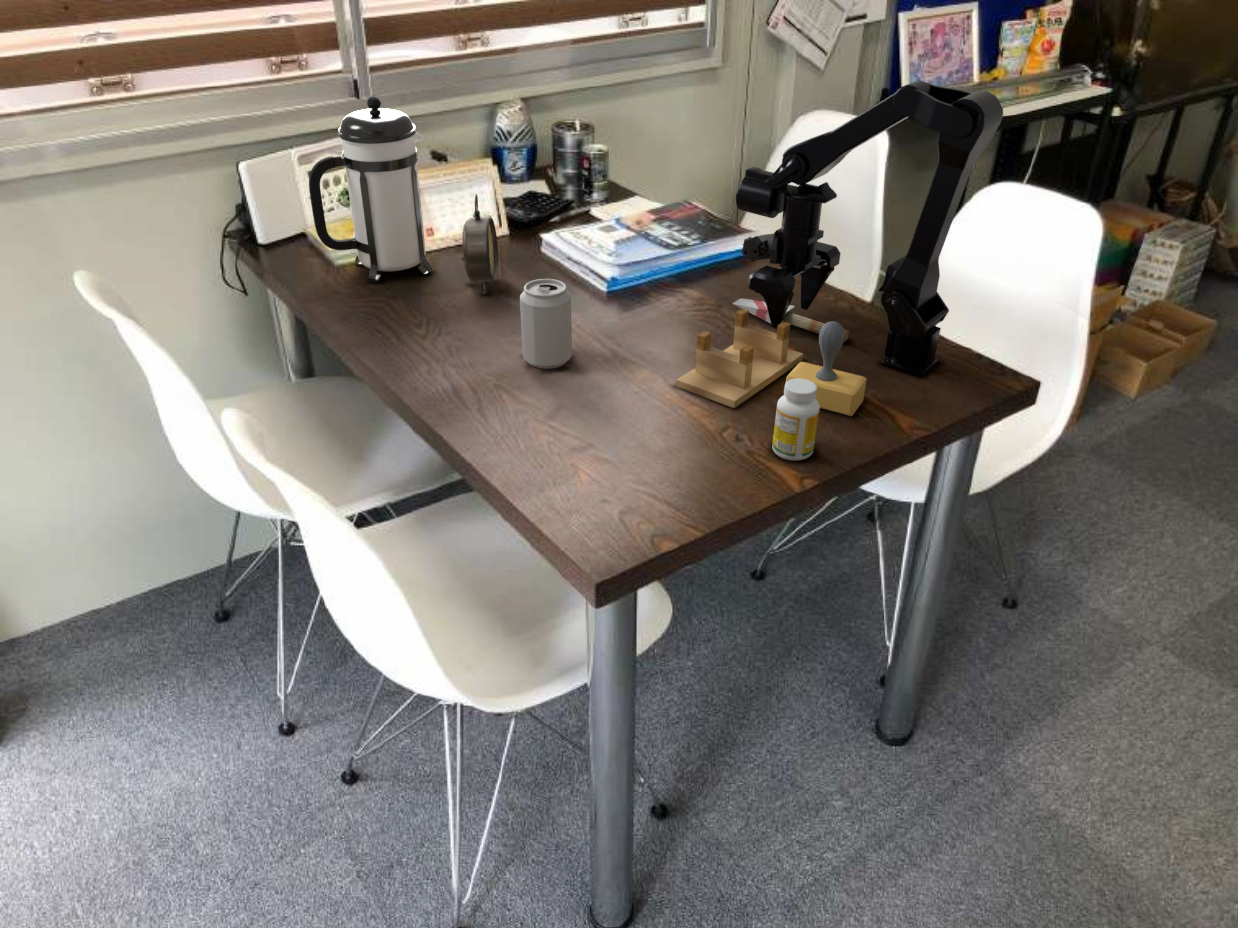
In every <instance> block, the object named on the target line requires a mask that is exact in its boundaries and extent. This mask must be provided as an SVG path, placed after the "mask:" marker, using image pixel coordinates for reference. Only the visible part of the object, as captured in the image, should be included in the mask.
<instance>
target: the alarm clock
mask: <svg viewBox="0 0 1238 928" xmlns="http://www.w3.org/2000/svg"><path fill="white" fill-rule="evenodd" d="M473 214H474V217H469V218H467V219H466V221H465V222H464V224H463V227H462V233H461V234H462V238H461V239H462V241H461V242H462V245H461V246H462V257H461V260H462V261H463V265H464V269H465V272H466V275H467V277H468V279H469V280H470V282H469V284H468V285H471V283H474V284H476V283H478V284H479V283H482V289H483V292H482V294H483V296H487V295H488V292H487V290H488V283H495V282H496V281H497V280H498V276H499V243H498V237H497V236H498V235H497V230H496V225H495V221H494V218H492V217H491V216H481V215H480V214H481V212H480V210H479V198H478V193H475V194H474V212H473Z"/></svg>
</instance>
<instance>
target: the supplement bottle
mask: <svg viewBox="0 0 1238 928" xmlns="http://www.w3.org/2000/svg"><path fill="white" fill-rule="evenodd" d="M816 393H817V386H816V384H815V383H813V382H812V381H809V380H806V379H791V380H789V381H787V382H786V381H785V384H784V389H783V395H782V396H781V397H779V398H778V400H777V403H776V409H775V410H776V411H775V418H774V428H773V435H772V445H771V447H772V451H773V452H774V454H775V455H776V456H777V457H779V458H781V459H784V460H786V461H803V460H806V459H808V458H810V457H811V456H812V455H813V453H814V450H815V442H816V436H817V435H816V434H817V428H818V422H819V416H820V409H821V408H820V406H819V403H818V401H817V400H816V399H815V397H816Z"/></svg>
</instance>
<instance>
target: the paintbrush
mask: <svg viewBox="0 0 1238 928" xmlns="http://www.w3.org/2000/svg"><path fill="white" fill-rule="evenodd" d="M732 305H734V306H736V307H738V308H739V309H745V310H748V311H749V314H751V315H753V316H754V317H757V318H759V319H761V320H763V321H764V322H767V323H769V324H770V325H771V321H770V317H769V313H768V309H767V306H766V303H765V301H762V300H757V299H749V298H741V297H740V298H738V300H736V301H734V302H732ZM795 307H796V306H795V305H792V304H789V307H788V309H787V311H786V313H785V316H784V318H783V320H782V322H781V323H783V322H787V323H790V324H791V325H790V326H794V327H797V328H800V329H803V330H806V331H809V332H812V333H814V334H818V335H819V334H820V330H821V328H822V326H823V325H824V324H825V323H824V322H821V321H818V320H814V319H811V318H808V317H806V316H802V315H799V314H797V313H793V311H794V309H795ZM844 332H845V336H844V342H843V343H846V342H847V340H848V339H849V335H850V331H848V330H845V329H844Z"/></svg>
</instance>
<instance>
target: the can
mask: <svg viewBox="0 0 1238 928" xmlns="http://www.w3.org/2000/svg"><path fill="white" fill-rule="evenodd" d="M519 309H520V329H521V331H520V332H521V351H522V358H523V359H524V361H526V362H527V363H528V364H529V365H530V366H532V367H535V368H537V369H543V370H548V369H549V370H550V369H557V368H559V367H562V366H564V365H566V363H567V362H568V361H570V360H571V358H572V357H573V339H572V338H573V337H572V336H573V335H572V334H573V333H572V332H573V331H572V329H573V328H572V294H571V293H570V292H569V291H568V288H567V284H565V282H563V281H561V280H558V279H554V278H539V279H538V278H537V279H533V280H530V281H529V282H527V283H525V285H524V286H523V291H522V292H521V294H520V295H519Z"/></svg>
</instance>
